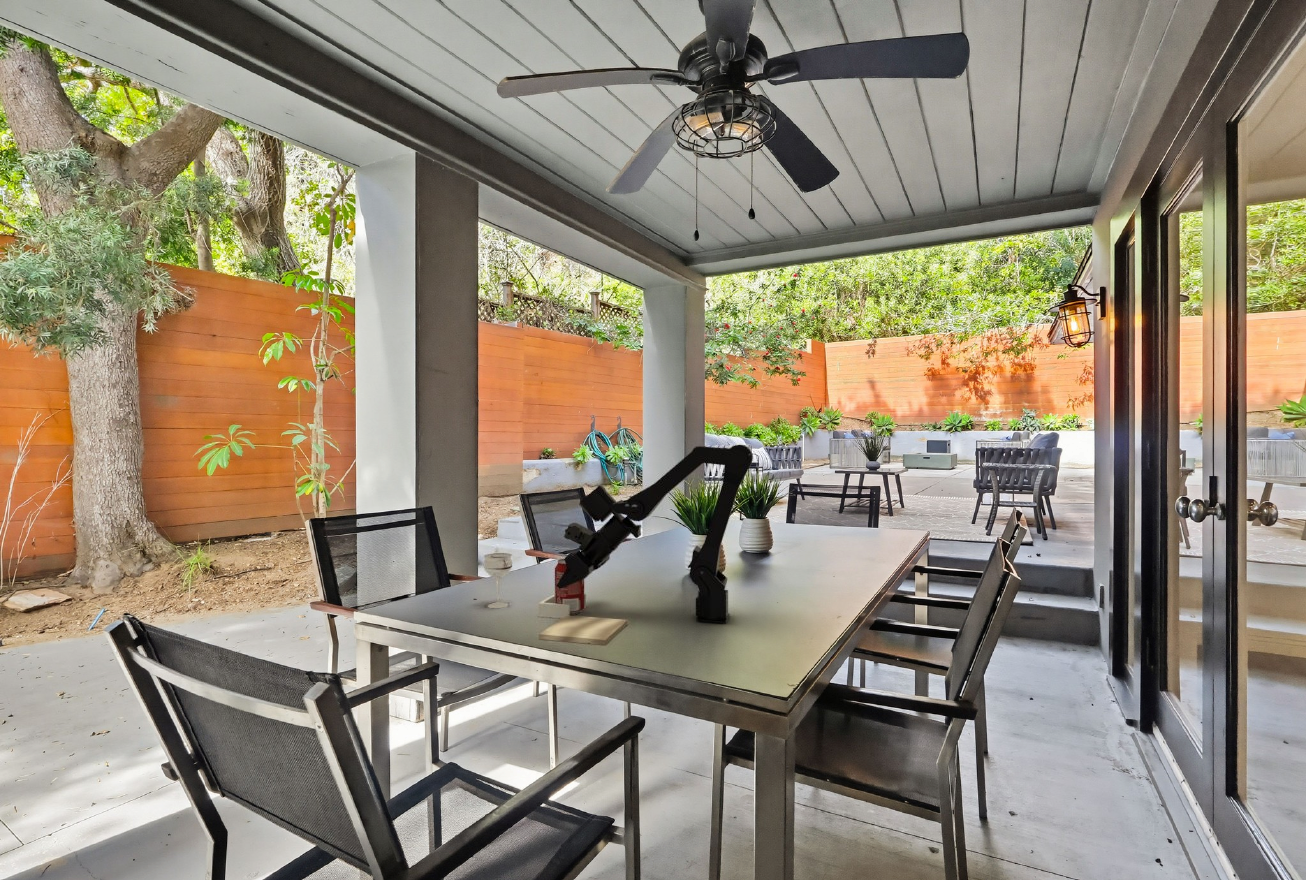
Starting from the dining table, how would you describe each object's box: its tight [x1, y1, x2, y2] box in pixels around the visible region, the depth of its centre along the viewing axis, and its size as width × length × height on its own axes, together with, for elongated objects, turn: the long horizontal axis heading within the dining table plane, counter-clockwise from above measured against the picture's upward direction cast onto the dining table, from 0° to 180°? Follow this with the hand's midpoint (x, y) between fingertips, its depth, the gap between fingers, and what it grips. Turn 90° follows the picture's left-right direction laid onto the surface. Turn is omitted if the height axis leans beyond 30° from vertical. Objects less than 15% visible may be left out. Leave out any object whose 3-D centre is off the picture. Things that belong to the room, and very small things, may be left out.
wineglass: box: [483, 552, 513, 609], centre depth 152 cm, size 7×7×12 cm
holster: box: [537, 593, 587, 619], centre depth 146 cm, size 7×11×3 cm
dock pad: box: [538, 615, 629, 646], centre depth 131 cm, size 14×14×1 cm
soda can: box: [554, 558, 585, 616], centre depth 146 cm, size 7×7×12 cm
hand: (563, 583), depth 146 cm, fingers open, 8 cm apart
